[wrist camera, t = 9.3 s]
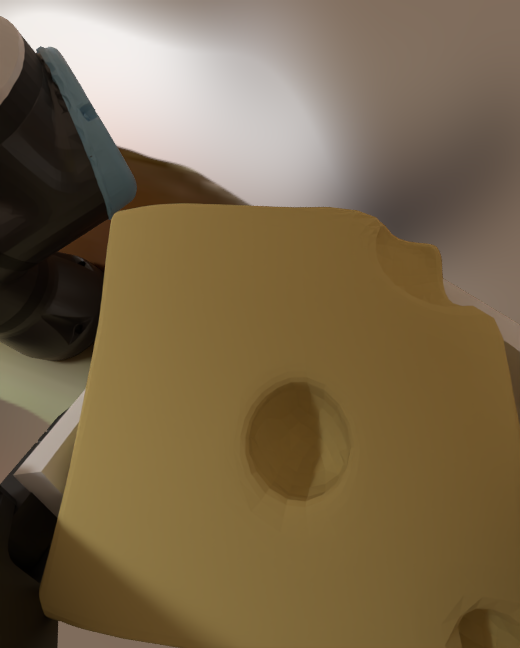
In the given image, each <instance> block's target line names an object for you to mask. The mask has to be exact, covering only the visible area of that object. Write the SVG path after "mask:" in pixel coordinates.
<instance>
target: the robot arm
mask: <svg viewBox="0 0 520 648" xmlns="http://www.w3.org/2000/svg"><path fill="white" fill-rule="evenodd" d="M36 51H37V53H35V52H34V51H33V49H32V48H31V47H30V45H29V44H28V43H27V42H26V41H25V39H24V38H23V37H22V36H21V34H20V33H19V32H18V30H17V29H16V28H15V27H14V25H13V24H12V23H10V22H9V21H8V20H7V19H5V18H3V17H1V16H0V342H2V343H4V344H6V345H7V346H9V347H11V348H13V349H15V350H16V351H18V352H20V353H22V354H24V355H26V356H29V357H32V358H37V359H44V360H51V361H56V360H63V359H67V358H70V357H73V356H75V355H77V354H79V353H80V352H82V351H83V350H85V349H86V348H87V347H89V346H90V345H91V344H92V343H93V342H94V341H95V339H96V334H97V329H98V323H99V316H100V308H101V301H102V292H103V282H104V273H103V272H102V271H101V270H100V269H99V268H98V267H96V266H95V265H93V264H91V263H90V262H88V261H87V260H85V259H83V258H80V257H78V256H74V255H70V254H66V253H61V252H57V251H59V250H60V249H62V248H63V247H65V246H67V245H68V244H70V243H71V242H73V241H74V240H76V239H77V238H79V237H81V236H82V235H84V234H85V233H87V232H88V231H90V230H91V229H93V228H95V227H96V226H98V225H99V224H101V223H102V222H104V221H105V220H107V219H109V220H110V219H112V217H113V215H114V213H116V212H117V211H118V210H120V209H121V208H123V207H124V206H125V205H127V204H128V203H129V202H131V201H132V200H133V198H134V197H135V194H136V190H137V187H136V181H135V179H134V177H133V175H132V173H131V171H130V169H129V167H128V165H127V164H126V162H125V160H124V158H123V157H122V155H121V153H120V151H119V150H118V148H117V146H116V145H115V143H114V141H113V139H112V138H111V136H110V134H109V133H108V131H107V129H106V128H105V126H104V124H103V123H102V121H101V119H100V118H99V116H98V115H97V113H96V112H95V109H94V108H93V106H92V104H91V103H90V101H89V99H88V98H87V96H86V94H85V92H84V90H83V89H82V87H81V85H80V84H79V82H78V80H77V79H76V77H75V75H74V74H73V72H72V70H71V69H70V67H69V66H68V64H67V62H66V61H65V59H64V58H63V56H62V55H61V53H60V52H59V51H58V50H57V49H55V48H53V47H48V48H44V47H39V48H38V49H36ZM443 285H444V289H445V293H446V295H447V297H448V299H449V300H450V301H451V302H452V303H454V304H457V305H461V306H474V307H476V308H478V309H480V310H481V311H483V312H485V313H486V314H488V315H490V316H491V317H493V318H494V319H495V321H496V323H497V326H498V328H499V330H500V332H501V334H502V337H503V339H504V345H505V351H506V357H507V362H508V366H509V370H510V376H511V382H512V388H513V393H514V399H515V404H516V409H517V414H518V420H519V425H520V324H518V323H517V322H515V321H513V320H512V319H510V318H508V317H507V316H505V315H503V314H501V313H500V312H498V311H497V310H495V309H493V308H492V307H490V306H488V305H487V304H485V303H483V302H482V301H480V300H479V299H477V298H475V297H474V296H472V295H470V294H469V293H467V292H465V291H464V290H462V289H460V288H459V287H457V286H455V285H454V284H452V283H450V282H449V281H447V280H445V279H444V278H443ZM84 394H85V390H84V391H83V393H82V394H81V395H80V396H79V397H78V398H77V400H76V401H75V402H74V403H73V404H72V406H71V407H69V408H68V409H67V410H66V411H65V412H63V413H62V414H61V415H60V416H58V417H57V419H56V420H55V421H54V422H53V423H52V424H51V426H50V427H49V428H48V429H47V432H45V433H44V434H43V435H42V436H41V437H40V438H39V440H38V443H35V444H34V445H33V447H32V448H31V449H30V450H29V451H28V452H27V454H26V455H25V456H24V457H23V458H22V459H21V461H20V462H19V463H18V464H17V465H16V467H15V468H14V469H13V470H12V471H11V472H10V473H9V475H8V476H7V477H6V478H5V479H4V481H3V482H2V483H1V484H0V648H57V643H58V620H54V619H51V618H48V617H46V616H45V614H44V612H43V609H42V606H41V602H40V598H39V588H40V584H41V580H42V577H43V573H44V569H45V566H46V562H47V558H48V555H49V551H50V548H51V544H52V540H53V535H54V531H55V527H56V523H57V519H58V515H59V511H60V507H61V502H62V498H63V494H64V490H65V486H66V481H67V477H68V473H69V468H70V463H71V458H72V453H73V449H74V444H75V439H76V434H77V429H78V424H79V420H80V415H81V410H82V404H83V399H84Z"/></svg>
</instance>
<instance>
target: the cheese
mask: <svg viewBox="0 0 520 648" xmlns="http://www.w3.org/2000/svg"><path fill="white" fill-rule="evenodd" d="M442 275H443V274H442V259H441V254H440V252H439V250H438V248H437V247H436V246H434V245H431V244H425V243H415V242H408V241H404V240H402V239H399V238H397V237H396V236H394V235H392V234H391V233H390V231H389V230H388V229H387V227H386V226H385V225H384V224H382V223H381V222H380V221H379V220H378V219H377V218H375V217H373V216H371V215H368V214H365V213H362V212H360V211H357V210H349V209H340V208H332V207H295V208H294V207H269V206H243V205H218V204H183V203H182V204H161V205H152V206H144V207H139V208H134V209H129V210H124V211H119V212H116V213H115V214H114V215H113V217H112V220H111V225H110V233H109V241H108V247H107V255H106V264H105V273H104V282H103V292H102V301H101V308H100V316H99V323H98V329H97V334H96V339H95V344H94V350H93V355H92V360H91V365H90V370H89V375H88V380H87V385H86V389H85V394H84V399H83V404H82V410H81V415H80V420H79V424H78V429H77V434H76V439H75V444H74V449H73V453H72V458H71V463H70V468H69V473H68V477H67V481H66V486H65V490H64V494H63V498H62V502H61V507H60V511H59V515H58V519H57V523H56V527H55V531H54V535H53V540H52V544H51V548H50V551H49V555H48V558H47V562H46V566H45V569H44V573H43V577H42V580H41V584H40V588H39V598H40V602H41V606H42V609H43V612H44V614H45V616H46V617H48V618H51V619H54V620H58V621H62V622H64V623H67V624H70V625H72V626H75V627H78V628H81V629H85V630H89V631H93V632H98V633H102V634H106V635H110V636H115V637H119V638H123V639H129V640H135V641H141V642H148V643H154V644H160V645H166V646H172V647H178V648H520V425H519V420H518V414H517V409H516V404H515V399H514V393H513V388H512V382H511V376H510V370H509V366H508V362H507V357H506V351H505V345H504V339H503V337H502V334H501V332H500V330H499V328H498V326H497V323H496V321H495V319H494V318H493V317H491V316H490V315H488V314H486V313H485V312H483V311H481V310H480V309H478V308H476V307H474V306H461V305H457V304H454V303H452V302H451V301H450V300H449V299H448V297H447V295H446V293H445V289H444V285H443V276H442Z"/></svg>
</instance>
